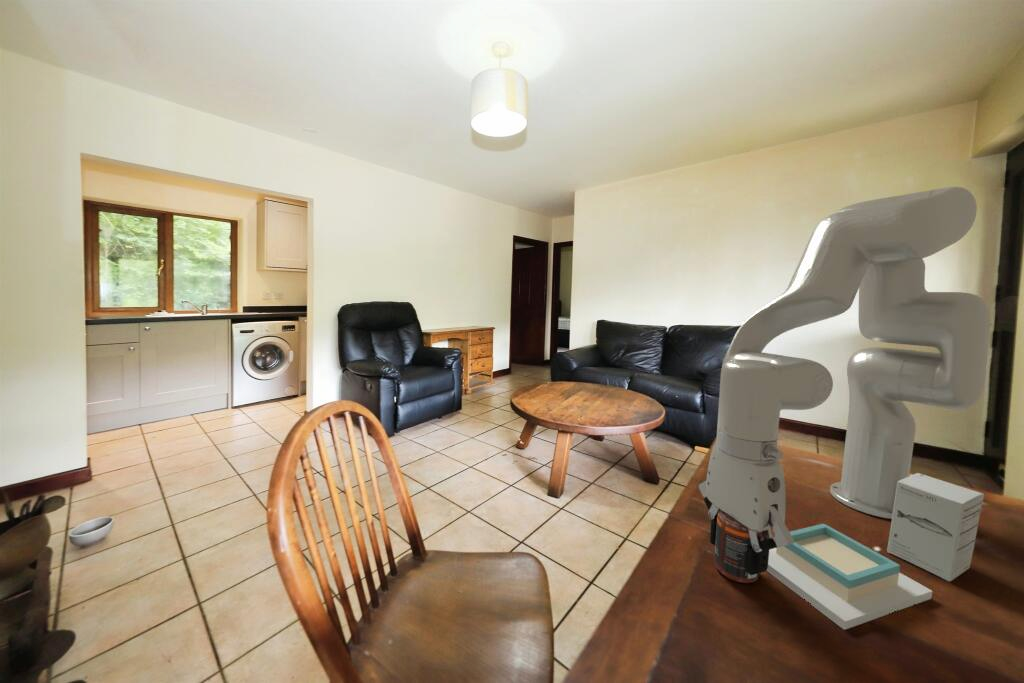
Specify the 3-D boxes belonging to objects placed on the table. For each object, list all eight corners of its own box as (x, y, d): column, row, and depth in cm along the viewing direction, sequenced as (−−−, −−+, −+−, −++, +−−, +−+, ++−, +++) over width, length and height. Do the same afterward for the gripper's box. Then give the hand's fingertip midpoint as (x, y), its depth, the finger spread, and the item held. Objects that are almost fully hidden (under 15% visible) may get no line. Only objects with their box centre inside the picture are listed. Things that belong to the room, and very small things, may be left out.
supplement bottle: (766, 588, 54) (772, 515, 53) (721, 582, 55) (726, 511, 54) (749, 559, 60) (754, 493, 58) (708, 555, 61) (713, 490, 60)
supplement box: (884, 552, 61) (894, 479, 60) (907, 540, 64) (917, 471, 63) (950, 584, 55) (963, 503, 53) (973, 569, 57) (985, 492, 56)
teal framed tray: (823, 536, 65) (825, 513, 65) (931, 598, 52) (935, 569, 51) (747, 556, 61) (749, 531, 60) (844, 629, 47) (848, 598, 47)
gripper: (827, 466, 48) (813, 593, 50) (718, 422, 64) (712, 519, 66) (782, 474, 46) (770, 607, 48) (682, 426, 62) (676, 527, 64)
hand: (736, 555), depth 57 cm, fingers closed on supplement bottle, 5 cm apart
